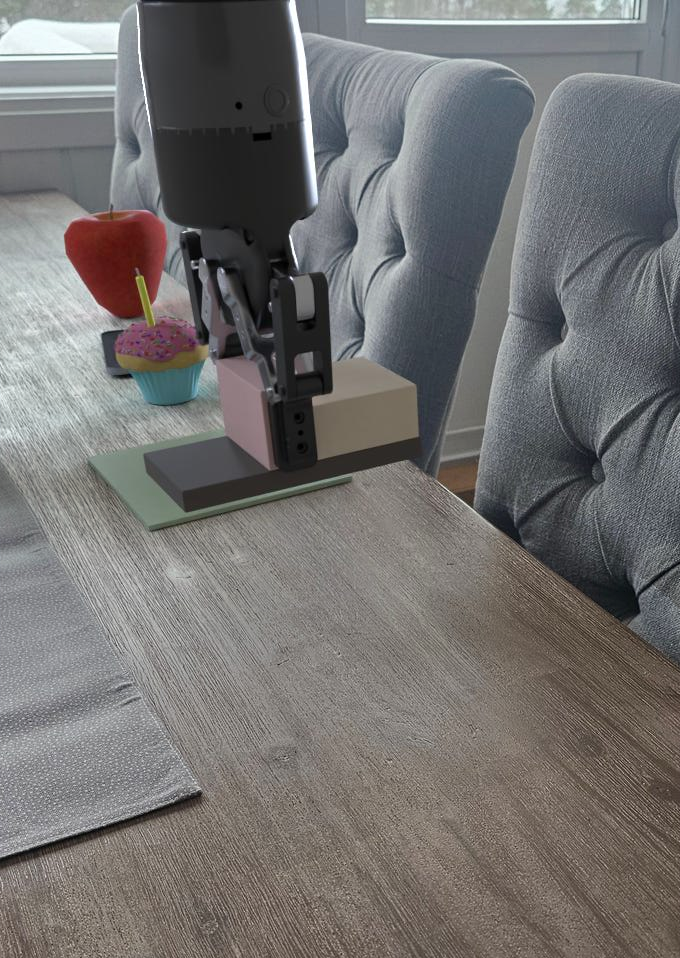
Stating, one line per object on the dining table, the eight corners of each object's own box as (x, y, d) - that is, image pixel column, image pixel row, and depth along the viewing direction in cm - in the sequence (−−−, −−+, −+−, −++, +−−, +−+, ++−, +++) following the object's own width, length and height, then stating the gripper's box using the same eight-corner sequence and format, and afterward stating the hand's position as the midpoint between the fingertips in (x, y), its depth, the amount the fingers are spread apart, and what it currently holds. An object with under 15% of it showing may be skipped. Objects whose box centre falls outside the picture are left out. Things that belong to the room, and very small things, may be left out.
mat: (149, 531, 79) (148, 526, 79) (87, 462, 91) (86, 457, 91) (352, 480, 86) (352, 475, 86) (270, 422, 98) (270, 417, 98)
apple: (159, 297, 137) (141, 190, 130) (192, 315, 129) (174, 203, 122) (68, 312, 131) (44, 202, 125) (97, 332, 124) (73, 216, 117)
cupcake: (195, 413, 100) (172, 274, 94) (107, 410, 102) (78, 273, 95) (230, 383, 107) (211, 252, 101) (146, 380, 109) (122, 251, 102)
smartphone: (169, 324, 123) (183, 360, 110) (171, 332, 123) (185, 369, 111) (99, 331, 121) (105, 369, 109) (100, 340, 121) (107, 378, 109)
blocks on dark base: (185, 513, 57) (167, 409, 55) (146, 473, 62) (127, 375, 59) (423, 456, 64) (419, 360, 61) (371, 423, 68) (365, 332, 65)
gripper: (106, 103, 56) (162, 423, 65) (207, 133, 46) (257, 508, 55) (246, 93, 60) (281, 399, 69) (370, 118, 49) (392, 475, 58)
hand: (270, 446), depth 62 cm, fingers closed on blocks on dark base, 6 cm apart
